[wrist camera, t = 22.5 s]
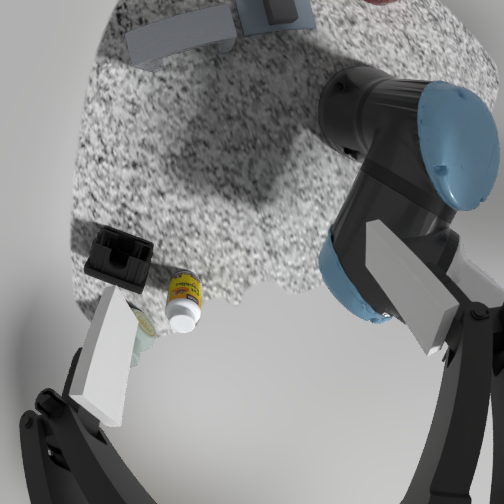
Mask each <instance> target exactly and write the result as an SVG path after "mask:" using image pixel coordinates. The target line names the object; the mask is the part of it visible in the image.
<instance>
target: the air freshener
mask: <svg viewBox="0 0 504 504" xmlns="http://www.w3.org/2000/svg"><path fill="white" fill-rule="evenodd" d="M130 309H131V310H132V312H133V313H134V315H135V316H136V318H137V320H138V321H139V323H138V327H137V332H136V337H135V342H134V347H133V352H132V357H131V363H130V367H134V366H136V365H137V364H138V363H139V358H140V353H141V352H143V351H145V350H147V349H149V348H150V347H151V346H152V345H153V344H154V342H155V340H156V330H155V328H154V326H153V324H152V322H151V321H150V320H149V318H148V317H147V316H146V315H145V314H144V313H142V312H141V311H139V310H137V309H134V308H130Z"/></svg>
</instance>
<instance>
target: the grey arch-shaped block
mask: <svg viewBox="0 0 504 504" xmlns="http://www.w3.org/2000/svg"><path fill="white" fill-rule="evenodd" d="M125 38H126V42H127V46H128V50H129V54H130V58H131V62H132V66H134V67H137V68H141V69H144V70H147V71H150V72H157V71H160V70H163V69H164V65H163V61H162V58H164V57H167V56H170V55H173V54H177V53H180V52H184V51H187V50H191V49H195V48H198V47H202V46H206V45H211V44H215V43H217V46H218V50H219V54H222V53H227V52H231V50H232V47H233V45H234V43H235V41H236V38H237V33H236V29H235V25H234V21H233V18H232V14H231V10H230V6H229V4H224V5H218V6H213V7H209V8H204V9H200V10H196V11H192V12H188V13H184V14H180V15H177V16H173V17H170V18H167V19H163V20H160V21H157V22H154V23H151V24H148V25H145V26H143V27H140V28H137V29H135V30H132V31H129V32H127V33H125Z"/></svg>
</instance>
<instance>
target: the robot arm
mask: <svg viewBox="0 0 504 504" xmlns="http://www.w3.org/2000/svg"><path fill="white" fill-rule="evenodd" d="M318 114H319V122H320V126H321V129H322V131H323V134H324V136H325V137H326V139H327V141H328V142H329V143H330V145H331V146H332V147H333V148H334V149H335V150H336V151H338V152H339V153H341V154H342V155H344V156H346V157H347V158H349V159H351V160H354V161H357V162H360V163H363V164H362V166H361V168H360V170H359V172H358V175H357V177H356V179H355V181H354V183H353V185H352V187H351V189H350V191H349V194H348V196H347V198H346V200H345V202H344V204H343V206H342V208H341V210H340V212H339V214H338V216H337V218H336V220H335V222H334V223H333V224H331V226H330V227H329V230H328V236H327V238H326V241H325V243H324V245H323V247H322V249H321V252H320V255H319V268H320V272H321V274H322V278H323V280H324V282H325V284H326V286H327V287H328V289H329V290H330V292H331V293H332V294H333V295H334V297H335V298H336V299H337V300H338V301H339V302H340V303H341V304H342V305H343V306H344V307H346V309H348V310H349V311H350V312H352V313H353V314H354V315H356V316H358V317H359V318H361V319H363V320H366V321H368V320H370V321H371V322H372V323H377V324H378V323H379V324H380V323H384V322H386V321H388V320H390V319H391V318H392V317H393V316H394V317H396V318H397V319H399V320H400V321H401V322H403V323H404V324H406V325H407V326H408V327H409V329H410V330H411V332H412V333H413V334H414V336H415V338H416V339H417V341H418V342H419V344H420V346H421V347H422V349H423V351H424V352H425V353H426V355H427V356H429V355H430V354H433V353H435V352H437V351H439V350H441V348H442V346H443V343H444V341H445V342H446V343H447V344H448V346H449V347H448V349H447V351H446V353H445V355H444V357H443V360H442V361H443V362H444V361H445V366H444V372H443V378H442V383H441V387H440V392H439V397H438V401H437V405H436V409H435V413H434V417H433V421H432V424H431V428H430V431H429V434H428V438H427V441H426V444H425V447H424V450H423V453H422V455H421V458H420V461H419V464H418V466H417V469H416V472H415V474H414V477H413V479H412V481H411V484H410V486H409V488H408V491H407V493H406V495H405V497H404V499H403V500H402V501H401V503H400V504H471V497H470V495H469V490H470V486H471V483H472V480H473V476H474V473H475V469H476V466H477V462H478V458H479V454H480V450H481V446H482V441H483V437H484V431H485V426H486V420H487V414H488V406H489V399H490V393H491V402H492V416H493V471H492V484H491V494H490V504H504V288H503V287H502V286H501V285H500V284H499V283H497V282H496V281H495V280H494V279H493V278H492V277H490V276H489V275H488V274H487V273H486V272H484V271H483V270H482V269H481V268H479V267H478V266H477V265H476V264H474V263H473V262H472V261H470V260H469V259H468V258H467V257H466V255H465V253H464V247H463V242H462V238H461V236H460V235H458V234H457V233H456V232H454V231H453V230H451V229H450V228H449V226H450V224H451V221H452V220H453V218H454V216H455V214H456V212H457V211H458V210H461V211H469V210H472V209H475V208H477V207H478V206H479V204H480V202H484V201H485V200H486V199H487V197H488V196H489V194H490V192H491V190H492V189H493V186H494V183H495V181H496V178H497V174H498V169H499V162H500V143H499V140H498V131H497V128H496V124H495V121H494V119H493V116H492V114H491V112H490V111H489V109H488V107H487V106H486V104H485V103H484V102H483V101H482V100H481V98H480V97H478V96H477V95H476V94H475V93H473V92H472V91H470V90H468V89H466V88H463V87H459V86H456V85H452V84H449V83H447V82H444V81H424V80H411V79H396V78H394V77H393V76H391V75H389V74H387V73H386V72H384V71H382V70H379V69H376V68H373V67H363V66H362V67H351V68H347V69H344V70H342V71H340V72H338V73H337V74H336V75H334V76H333V77H332V78H331V79H330V80H329V81H328V83H327V84H326V86H325V87H324V89H323V91H322V94H321V97H320V100H319V108H318ZM138 323H139V321H138V320H137V318H136V316H135V315H134V313H133V312H132V310H131V309H130V307H129V305H128V304H127V302H126V300H125V299H124V297H123V295H122V294H121V292H120V290H119V289H118V287H117V285H114V286H111V287H107V288H105V289H104V291H103V294H102V296H101V299H100V301H99V304H98V306H97V309H96V311H95V314H94V317H93V319H92V322H91V325H90V328H89V331H88V333H87V337H86V339H85V342H84V345H83V347H81V348H79V349H78V351H77V352H76V354H75V355H74V357H73V360H72V363H71V367H70V369H69V374H68V376H67V379H66V382H65V386H64V390H63V393H62V397H61V396H60V395H59V394H58V393H56V392H55V391H54V390H53V389H51V388H47V389H45V390H43V391H41V393H40V394H39V395H38V397H37V398H36V402H35V409H36V410H38V411H39V412H40V413H41V414H42V415H38V414H36V413H35V412H34V411H31V410H28V411H26V412H25V413H24V414H23V415H22V417H21V419H20V424H19V425H20V426H19V427H20V440H21V450H22V458H23V465H24V472H25V478H26V483H27V488H28V492H29V497H30V501H31V504H157V503H156V502H155V501H154V500H153V499H152V497H151V496H150V495H149V494H148V493H147V492H146V490H145V489H144V488H143V487H142V485H141V484H140V483H139V482H138V480H137V479H136V478H135V476H134V475H133V474H132V472H131V471H130V470H129V468H128V467H127V466H126V464H125V463H124V462H123V460H122V459H121V457H120V456H119V454H118V453H117V451H116V450H115V449H114V447H113V446H112V444H111V443H110V441H109V439H108V438H107V436H106V435H105V433H104V431H103V430H102V429H101V428H100V427H99V422H100V421H101V422H102V423H103V424H105V425H106V426H111V427H121V422H122V415H123V406H124V399H125V392H126V386H127V380H128V374H129V368H130V363H131V357H132V352H133V347H134V342H135V337H136V332H137V327H138ZM445 359H446V360H445ZM48 450H50V451H51V456H50V455H49V454H48Z"/></svg>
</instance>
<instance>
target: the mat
mask: <svg viewBox="0 0 504 504" xmlns="http://www.w3.org/2000/svg"><path fill="white" fill-rule="evenodd" d="M294 2H295V6H296V9H297V13H298V17H299V18H298V19H297V20H296V21H294V22H293V23H288V24H277V25H269V23H268V19H267V15H266V12H265V8H264V4H263V1H262V0H235V3H236V7H237V10H238V14H239V18H240V22H241V26H242V30H243V34H244V36H247V35H253V34H260V33H267V32H276V31H285V30H297V29H314V28H316V24H315V20H314V16H313V12H312V8H311V5H310V1H309V0H294Z"/></svg>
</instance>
